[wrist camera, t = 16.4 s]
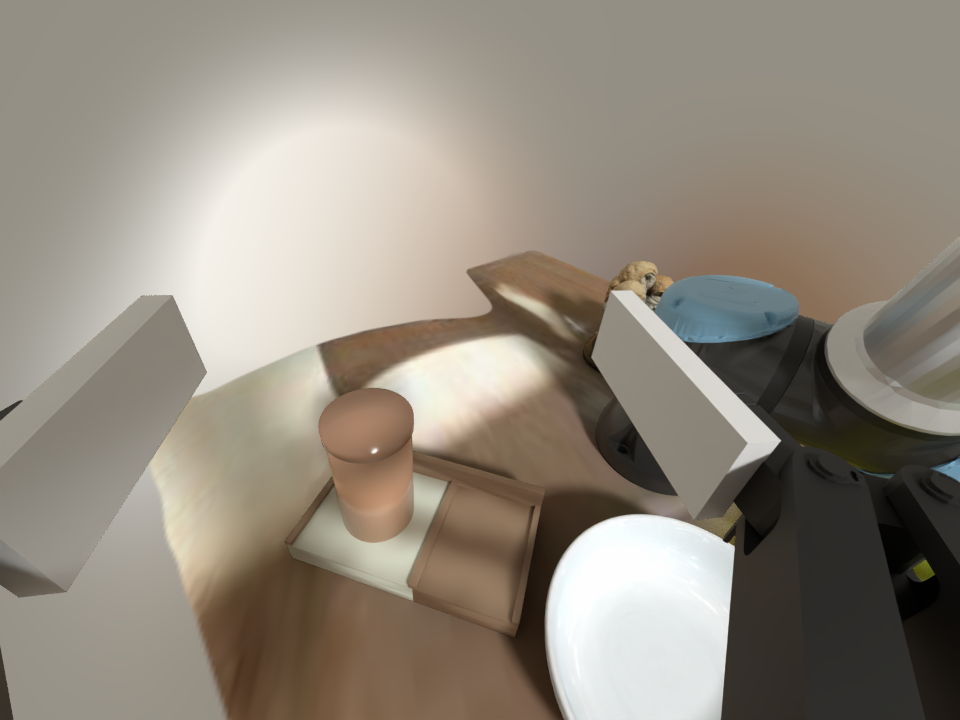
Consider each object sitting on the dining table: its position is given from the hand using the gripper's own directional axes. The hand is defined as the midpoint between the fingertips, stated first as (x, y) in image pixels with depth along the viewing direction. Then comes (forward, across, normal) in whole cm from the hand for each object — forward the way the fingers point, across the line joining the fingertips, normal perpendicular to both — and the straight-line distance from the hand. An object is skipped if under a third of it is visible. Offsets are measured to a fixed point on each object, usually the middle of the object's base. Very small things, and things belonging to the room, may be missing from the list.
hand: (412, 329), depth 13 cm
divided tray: (+11, 0, -32) cm, 34 cm away
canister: (+13, -4, -29) cm, 32 cm away
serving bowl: (-3, +19, -32) cm, 38 cm away
